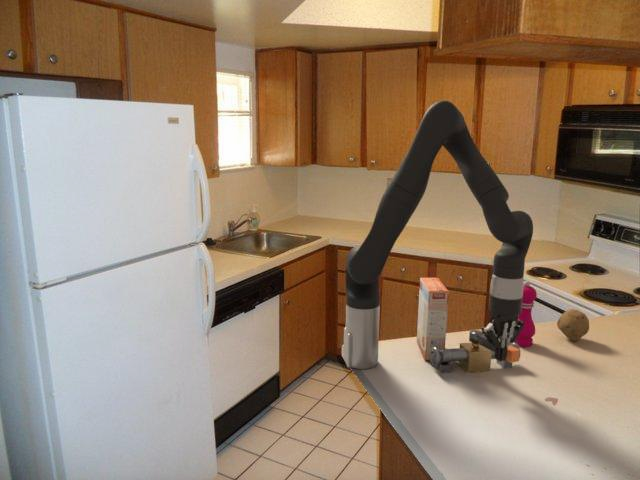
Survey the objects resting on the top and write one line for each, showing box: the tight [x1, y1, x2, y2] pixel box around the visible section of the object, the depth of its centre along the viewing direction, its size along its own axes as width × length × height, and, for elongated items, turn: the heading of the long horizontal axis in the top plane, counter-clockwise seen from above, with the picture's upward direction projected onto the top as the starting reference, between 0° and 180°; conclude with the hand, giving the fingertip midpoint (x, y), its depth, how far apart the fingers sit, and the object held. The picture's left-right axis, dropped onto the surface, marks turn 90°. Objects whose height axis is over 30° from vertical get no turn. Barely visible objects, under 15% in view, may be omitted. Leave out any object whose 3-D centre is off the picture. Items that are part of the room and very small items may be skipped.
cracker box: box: [416, 277, 450, 361], centre depth 149 cm, size 14×6×21 cm, turn 179°
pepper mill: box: [513, 280, 538, 348], centre depth 155 cm, size 7×7×20 cm
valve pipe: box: [430, 342, 521, 374], centre depth 140 cm, size 24×6×7 cm, turn 100°
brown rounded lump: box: [556, 308, 590, 342], centre depth 159 cm, size 9×9×10 cm
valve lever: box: [468, 329, 521, 364], centre depth 133 cm, size 16×4×3 cm, turn 26°
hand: (500, 359), depth 127 cm, fingers closed
